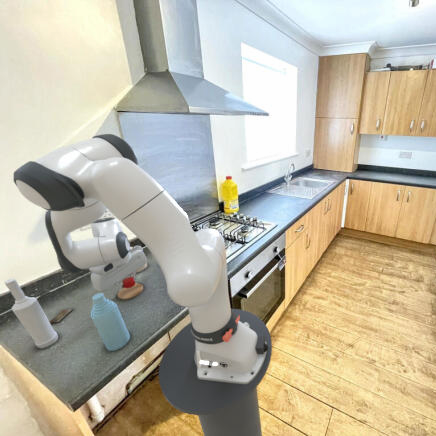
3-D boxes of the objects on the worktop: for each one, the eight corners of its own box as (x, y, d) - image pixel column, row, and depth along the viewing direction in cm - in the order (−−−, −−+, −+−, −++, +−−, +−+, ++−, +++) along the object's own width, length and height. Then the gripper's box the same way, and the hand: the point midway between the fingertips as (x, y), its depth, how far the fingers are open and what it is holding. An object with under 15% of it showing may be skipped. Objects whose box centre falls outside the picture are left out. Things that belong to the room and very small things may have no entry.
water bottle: (134, 336, 78) (116, 291, 70) (116, 353, 72) (94, 306, 64) (120, 331, 80) (100, 286, 72) (101, 347, 74) (78, 301, 66)
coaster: (148, 286, 100) (147, 285, 100) (129, 301, 92) (129, 300, 92) (132, 282, 103) (131, 281, 102) (112, 296, 95) (112, 295, 94)
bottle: (40, 351, 73) (-1, 289, 63) (34, 344, 75) (-7, 283, 65) (61, 339, 77) (25, 278, 67) (55, 332, 79) (19, 273, 69)
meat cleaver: (76, 311, 88) (66, 308, 89) (75, 308, 88) (65, 306, 89) (37, 336, 78) (27, 333, 79) (36, 333, 77) (26, 330, 78)
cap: (132, 288, 94) (130, 282, 93) (121, 288, 93) (120, 282, 92) (137, 282, 97) (136, 276, 96) (127, 282, 97) (125, 277, 96)
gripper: (134, 242, 100) (142, 268, 106) (83, 270, 82) (96, 300, 88) (145, 244, 98) (153, 271, 104) (96, 273, 80) (109, 303, 86)
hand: (127, 284), depth 96 cm, fingers closed on cap, 3 cm apart
